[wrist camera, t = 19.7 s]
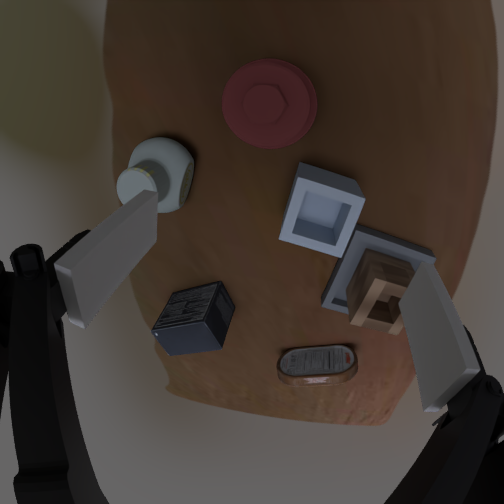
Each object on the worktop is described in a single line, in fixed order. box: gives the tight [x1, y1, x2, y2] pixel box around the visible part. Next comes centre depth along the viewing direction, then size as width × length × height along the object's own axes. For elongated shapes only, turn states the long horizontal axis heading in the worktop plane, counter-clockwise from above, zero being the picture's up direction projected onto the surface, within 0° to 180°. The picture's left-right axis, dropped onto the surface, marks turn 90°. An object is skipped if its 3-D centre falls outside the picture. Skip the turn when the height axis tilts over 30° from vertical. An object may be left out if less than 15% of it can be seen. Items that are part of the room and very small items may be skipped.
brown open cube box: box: [346, 248, 415, 335], centre depth 41 cm, size 8×8×8 cm
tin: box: [277, 344, 358, 387], centre depth 51 cm, size 15×3×8 cm, turn 103°
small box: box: [151, 281, 235, 356], centre depth 49 cm, size 11×6×10 cm, turn 113°
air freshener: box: [117, 137, 194, 213], centre depth 38 cm, size 11×8×10 cm
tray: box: [321, 224, 436, 314], centre depth 44 cm, size 14×14×2 cm
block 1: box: [279, 162, 365, 258], centre depth 37 cm, size 8×8×8 cm
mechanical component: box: [222, 59, 317, 149], centre depth 30 cm, size 12×10×10 cm
